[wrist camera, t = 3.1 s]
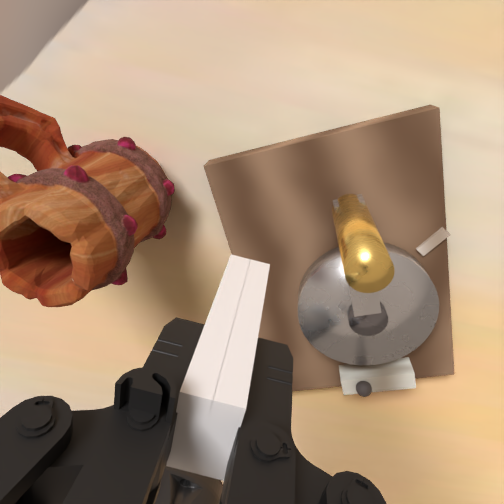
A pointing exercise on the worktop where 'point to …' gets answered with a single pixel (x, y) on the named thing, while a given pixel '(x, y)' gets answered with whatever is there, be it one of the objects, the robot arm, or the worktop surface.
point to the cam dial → (365, 294)
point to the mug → (73, 209)
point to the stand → (324, 234)
